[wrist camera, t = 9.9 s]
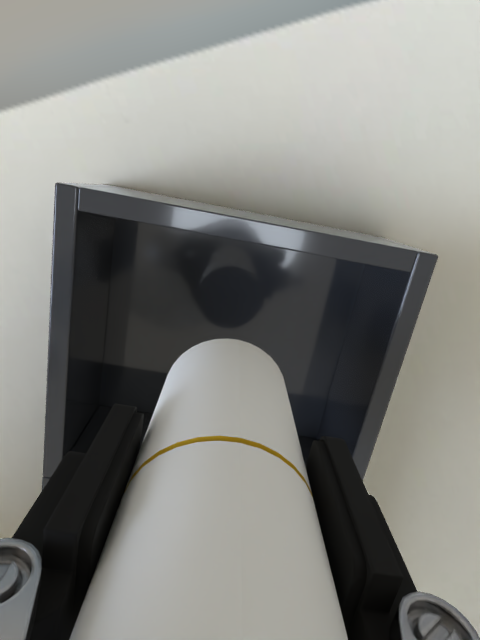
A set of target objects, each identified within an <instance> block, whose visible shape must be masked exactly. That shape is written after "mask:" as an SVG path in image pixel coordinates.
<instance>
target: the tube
mask: <svg viewBox="0 0 480 640" xmlns="http://www.w3.org/2000/svg"><path fill="white" fill-rule="evenodd" d="M69 640H348V637H347V633H346V629H345V625H344V621H343V617H342V613H341V609H340V605H339V601H338V596H337V592H336V588H335V584H334V580H333V576H332V572H331V568H330V564H329V560H328V556H327V552H326V548H325V544H324V540H323V536H322V532H321V528H320V524H319V520H318V516H317V512H316V508H315V504H314V500H313V496H312V492H311V488H310V484H309V479H308V475H307V471H306V467H305V463H304V459H303V455H302V451H301V447H300V443H299V439H298V435H297V431H296V427H295V423H294V418H293V414H292V410H291V406H290V402H289V398H288V394H287V390H286V386H285V382H284V378H283V375H282V373H281V371H280V369H279V367H278V365H277V364H276V363H275V362H274V360H273V359H272V358H271V357H270V356H269V355H268V354H267V353H265V352H264V351H263V350H262V349H260V348H258V347H256V346H254V345H252V344H250V343H247V342H244V341H241V340H236V339H228V338H227V339H213V340H209V341H205V342H202V343H200V344H198V345H195V346H193V347H191V348H190V349H188V350H187V351H186V352H184V353H183V354H182V355H181V356H180V357H179V358H178V359H177V360H176V361H175V363H174V364H173V365H172V367H171V369H170V371H169V373H168V375H167V378H166V380H165V383H164V386H163V389H162V391H161V394H160V397H159V399H158V402H157V405H156V407H155V410H154V413H153V415H152V418H151V421H150V424H149V426H148V429H147V432H146V434H145V437H144V440H143V442H142V445H141V448H140V450H139V453H138V456H137V458H136V461H135V464H134V467H133V469H132V472H131V475H130V477H129V480H128V483H127V485H126V488H125V491H124V494H123V496H122V499H121V502H120V504H119V507H118V510H117V512H116V515H115V518H114V520H113V523H112V526H111V528H110V531H109V534H108V537H107V539H106V542H105V545H104V547H103V550H102V553H101V555H100V558H99V561H98V564H97V566H96V569H95V572H94V574H93V577H92V580H91V582H90V585H89V588H88V590H87V593H86V596H85V599H84V601H83V604H82V607H81V609H80V612H79V615H78V617H77V620H76V623H75V626H74V628H73V631H72V634H71V636H70V639H69Z"/></svg>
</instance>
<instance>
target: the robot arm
mask: <svg viewBox="0 0 480 640" xmlns="http://www.w3.org/2000/svg"><path fill="white" fill-rule="evenodd" d="M143 418H144V414H142V413H137V407H135V406H128V405H122V404H114V405H113V407H112V409H111V410H110V412H109V414H108V416H107V417H106V419H105V421H104V423H103V425H102V426H101V428H100V430H99V432H98V433H97V435H96V437H95V439H94V440H93V442H92V444H91V446H90V448H89V449H88V451H87V453H80V452H74V451H69V452H67V453H66V455H65V456H64V457H63V459H62V461H61V462H60V464H59V465H58V467H57V468H56V470H55V472H54V473H53V475H52V476H51V478H50V479H49V481H48V482H47V484H46V486H45V487H44V489H43V490H42V492H41V493H40V495H39V497H38V498H37V500H36V501H35V503H34V504H33V506H32V507H31V509H30V511H29V512H28V514H27V515H26V517H25V518H24V520H23V522H22V523H21V525H20V526H19V528H18V529H17V531H16V533H15V534H14V536H13V537H12V538H3V539H0V640H69V639H70V636H71V634H72V631H73V628H74V626H75V623H76V620H77V617H78V615H79V612H80V609H81V607H82V604H83V601H84V599H85V596H86V593H87V590H88V588H89V585H90V582H91V580H92V577H93V574H94V572H95V569H96V566H97V564H98V561H99V558H100V555H101V553H102V550H103V547H104V545H105V542H106V539H107V537H108V534H109V531H110V528H111V526H112V523H113V520H114V518H115V515H116V512H117V510H118V507H119V504H120V502H121V499H122V496H123V494H124V491H125V488H126V485H127V483H128V480H129V477H130V475H131V472H132V469H133V467H134V464H135V461H136V458H137V456H138V453H139V450H140V442H141V434H142V426H143ZM306 471H307V475H308V479H309V484H310V488H311V492H312V496H313V500H314V504H315V508H316V512H317V516H318V520H319V524H320V528H321V532H322V536H323V540H324V544H325V548H326V552H327V556H328V560H329V564H330V568H331V572H332V576H333V580H334V584H335V588H336V592H337V596H338V601H339V605H340V609H341V613H342V617H343V621H344V625H345V629H346V633H347V637H348V640H480V638H479V636H478V634H477V632H476V630H475V629H474V628H473V626H472V625H471V624H470V622H469V621H468V620H467V618H465V617H464V616H463V615H462V614H461V613H460V612H459V611H458V610H457V609H456V608H455V607H453V606H452V605H451V604H449V603H448V602H446V601H445V600H443V599H441V598H439V597H437V596H434V595H432V594H429V593H424V592H417V590H416V587H415V585H414V583H413V581H412V579H411V576H410V574H409V572H408V570H407V567H406V565H405V563H404V561H403V559H402V556H401V554H400V552H399V550H398V547H397V545H396V543H395V541H394V538H393V536H392V534H391V532H390V530H389V527H388V525H387V523H386V521H385V518H384V516H383V514H382V512H381V510H380V507H379V505H378V503H377V501H376V499H375V498H374V497H373V496H371V495H368V493H367V491H366V488H365V486H364V484H363V481H362V479H361V477H360V474H359V472H358V470H357V467H356V465H355V463H354V460H353V458H352V456H351V453H350V451H349V449H348V446H347V444H346V442H345V440H344V439H340V438H333V437H327V436H322V437H321V438H320V440H319V441H317V440H314V441H313V443H312V446H311V449H310V453H309V456H308V460H307V464H306Z"/></svg>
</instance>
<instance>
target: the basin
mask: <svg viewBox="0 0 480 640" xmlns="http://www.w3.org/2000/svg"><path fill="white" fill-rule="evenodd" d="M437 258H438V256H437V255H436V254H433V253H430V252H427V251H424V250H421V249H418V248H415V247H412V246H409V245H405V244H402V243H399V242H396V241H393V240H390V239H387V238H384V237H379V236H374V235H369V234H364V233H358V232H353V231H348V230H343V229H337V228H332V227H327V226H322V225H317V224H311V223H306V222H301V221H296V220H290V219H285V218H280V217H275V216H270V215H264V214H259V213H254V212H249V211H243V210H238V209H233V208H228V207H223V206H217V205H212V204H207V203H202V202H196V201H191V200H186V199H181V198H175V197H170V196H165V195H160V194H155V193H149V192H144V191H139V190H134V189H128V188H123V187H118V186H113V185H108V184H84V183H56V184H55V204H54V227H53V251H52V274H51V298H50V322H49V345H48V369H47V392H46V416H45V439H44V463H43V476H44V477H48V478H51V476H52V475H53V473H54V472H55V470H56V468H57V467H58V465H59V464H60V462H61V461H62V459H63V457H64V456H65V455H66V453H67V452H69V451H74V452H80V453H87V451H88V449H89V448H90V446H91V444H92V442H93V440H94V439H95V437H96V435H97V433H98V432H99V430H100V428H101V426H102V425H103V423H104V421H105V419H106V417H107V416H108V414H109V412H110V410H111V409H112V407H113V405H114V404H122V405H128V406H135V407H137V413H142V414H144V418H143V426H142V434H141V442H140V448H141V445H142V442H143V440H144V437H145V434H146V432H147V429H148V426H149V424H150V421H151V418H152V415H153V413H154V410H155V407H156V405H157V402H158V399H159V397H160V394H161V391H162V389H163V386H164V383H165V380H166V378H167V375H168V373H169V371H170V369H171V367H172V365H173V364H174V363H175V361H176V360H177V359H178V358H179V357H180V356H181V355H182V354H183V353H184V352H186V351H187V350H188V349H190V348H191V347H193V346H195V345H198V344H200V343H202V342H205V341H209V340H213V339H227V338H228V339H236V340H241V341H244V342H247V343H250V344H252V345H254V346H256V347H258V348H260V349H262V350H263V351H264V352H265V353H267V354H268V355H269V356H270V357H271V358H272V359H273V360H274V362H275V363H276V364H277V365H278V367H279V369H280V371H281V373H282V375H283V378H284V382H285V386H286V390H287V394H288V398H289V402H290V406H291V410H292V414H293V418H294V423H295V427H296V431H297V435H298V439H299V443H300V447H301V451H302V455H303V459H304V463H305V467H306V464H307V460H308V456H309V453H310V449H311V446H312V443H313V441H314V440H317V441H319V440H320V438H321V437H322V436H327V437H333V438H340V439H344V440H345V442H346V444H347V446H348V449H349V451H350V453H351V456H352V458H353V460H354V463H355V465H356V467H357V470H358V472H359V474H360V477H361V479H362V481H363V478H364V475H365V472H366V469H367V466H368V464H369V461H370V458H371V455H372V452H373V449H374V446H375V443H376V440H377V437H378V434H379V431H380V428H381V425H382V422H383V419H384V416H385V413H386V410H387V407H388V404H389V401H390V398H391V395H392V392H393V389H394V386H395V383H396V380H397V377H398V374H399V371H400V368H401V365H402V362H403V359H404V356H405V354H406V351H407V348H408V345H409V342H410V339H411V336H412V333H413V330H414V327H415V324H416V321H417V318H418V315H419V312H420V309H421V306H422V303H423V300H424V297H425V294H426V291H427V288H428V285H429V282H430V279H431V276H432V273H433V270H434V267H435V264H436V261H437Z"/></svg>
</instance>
